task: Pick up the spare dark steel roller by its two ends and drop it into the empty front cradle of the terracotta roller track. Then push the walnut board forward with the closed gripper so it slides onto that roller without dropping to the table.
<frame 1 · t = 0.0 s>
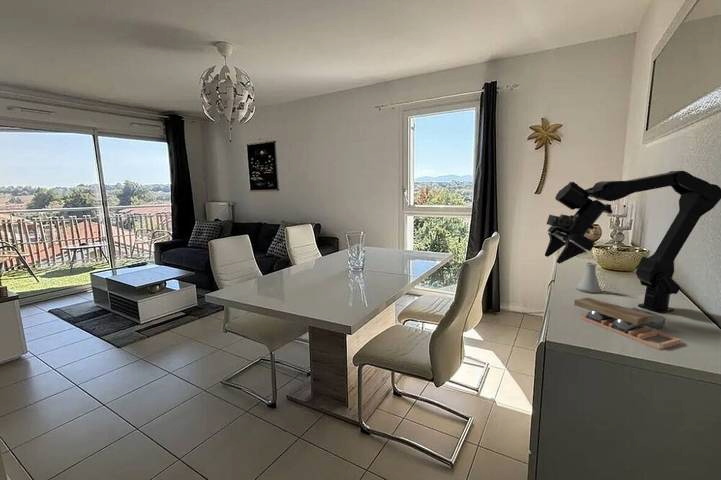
hand: (551, 259, 107), 15 cm above the table, tool tilted 35°, fingers open, 9 cm apart
middle roller: (627, 330, 90), on the table, touching walnut board
walnut board: (610, 312, 94), point 3 cm above the table, touching middle roller, rear roller
flask: (588, 290, 123), on the table
roller track: (601, 320, 97), on the table
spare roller: (645, 323, 94), on the table
rear roller: (601, 321, 97), on the table, tilted 7°, touching walnut board
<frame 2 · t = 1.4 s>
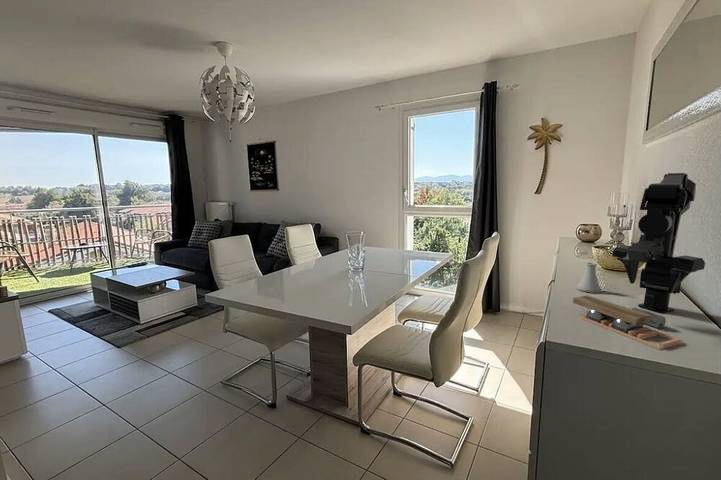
hand: (650, 288, 93), 10 cm above the table, tool pointing down, fingers open, 9 cm apart
middle roller: (627, 330, 90), on the table, tilted 9°, touching walnut board
rear roller: (602, 320, 97), on the table, tilted 15°, touching walnut board
everything else where it was.
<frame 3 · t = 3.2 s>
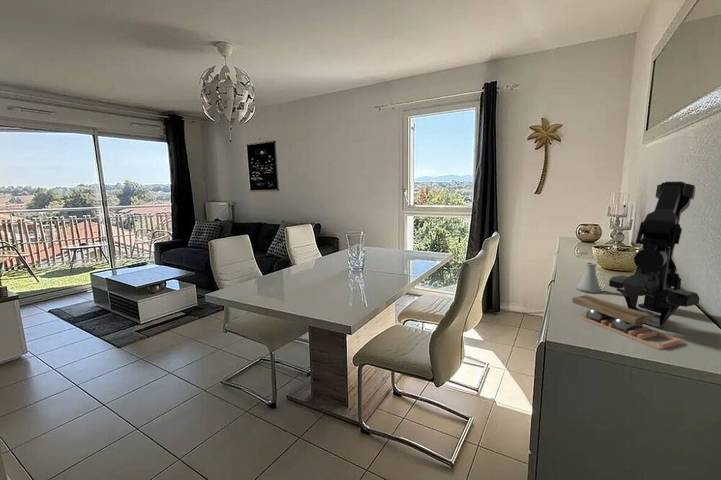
hand: (646, 319, 94), 1 cm above the table, tool pointing down, fingers closed on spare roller, 7 cm apart
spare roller: (645, 323, 94), on the table, tilted 11°, touching gripper
rear roller: (602, 320, 97), on the table, tilted 21°, touching walnut board
everything else where it was.
when the fingers open (2 cm above the table, at t = 7.5 s): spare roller drops 1 cm, on the table.
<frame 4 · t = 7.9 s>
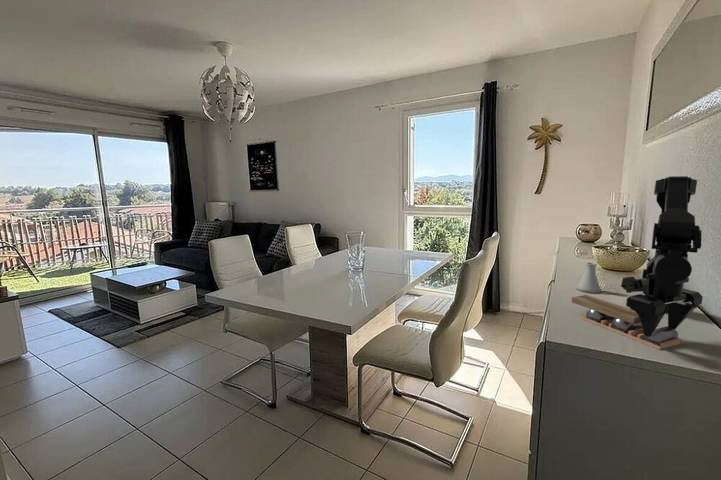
hand: (659, 333, 83), 2 cm above the table, tool pointing down, fingers open, 9 cm apart
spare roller: (657, 341, 84), on the table, tilted 13°
rear roller: (603, 320, 96), on the table, tilted 30°, touching walnut board
everything else where it was.
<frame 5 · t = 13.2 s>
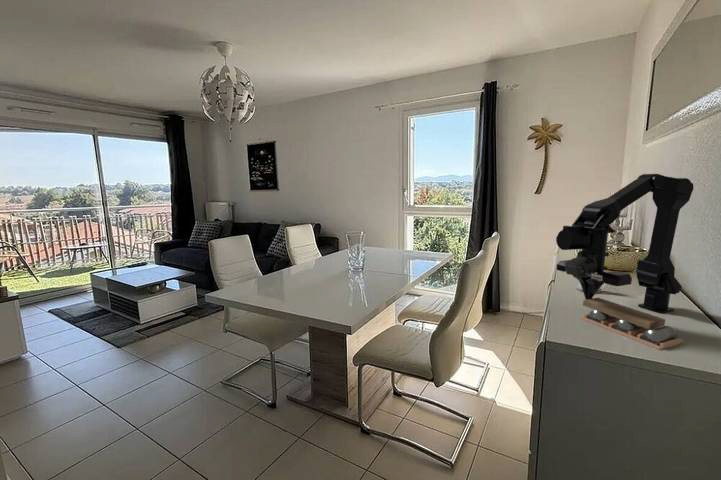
hand: (588, 300, 100), 4 cm above the table, tool pointing down, fingers closed
middle roller: (627, 329, 91), on the table, tilted 23°, touching roller track, walnut board
walnut board: (620, 314, 92), point 3 cm above the table, touching middle roller, rear roller
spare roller: (657, 341, 84), on the table, tilted 7°
rear roller: (602, 320, 96), on the table, touching roller track, walnut board
everything else where it was.
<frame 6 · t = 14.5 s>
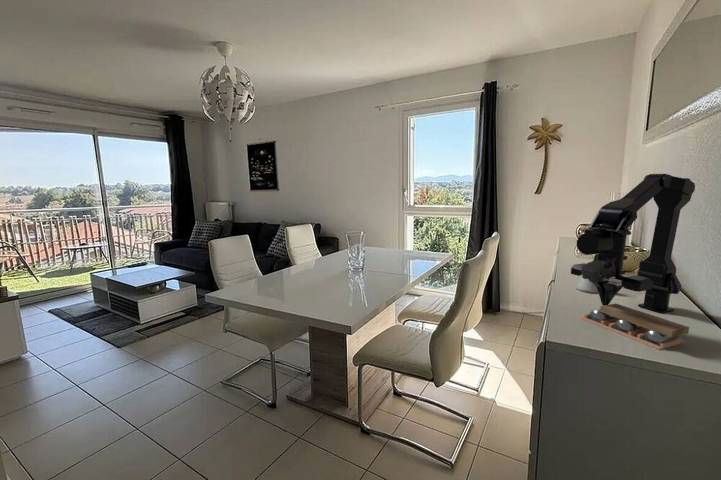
hand: (604, 305, 96), 5 cm above the table, tool pointing down, fingers closed
middle roller: (624, 327, 91), on the table, tilted 43°, touching walnut board
walnut board: (640, 321, 87), point 3 cm above the table, touching middle roller
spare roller: (654, 338, 84), on the table, tilted 48°
rear roller: (599, 318, 98), on the table, tilted 41°
everything else where it was.
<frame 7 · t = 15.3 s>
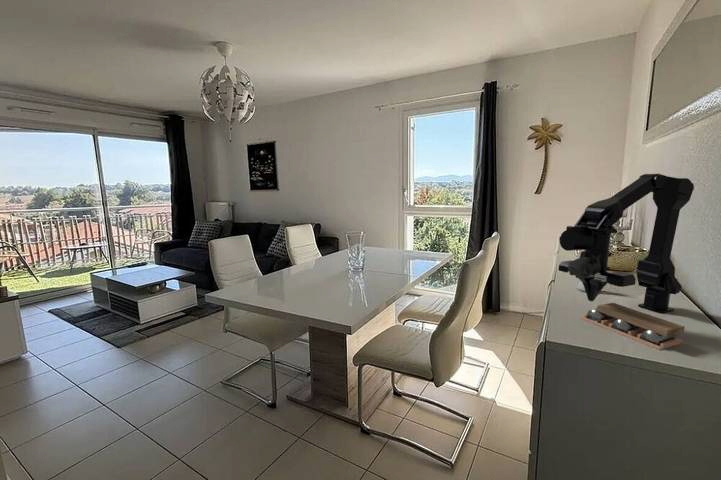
hand: (590, 300, 99), 5 cm above the table, tool pointing down, fingers closed
middle roller: (624, 328, 91), on the table, tilted 28°, touching walnut board
walnut board: (636, 320, 88), point 3 cm above the table, touching middle roller, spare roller
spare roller: (653, 339, 85), on the table, tilted 35°, touching walnut board
rear roller: (599, 319, 98), on the table, tilted 19°
everything else where it was.
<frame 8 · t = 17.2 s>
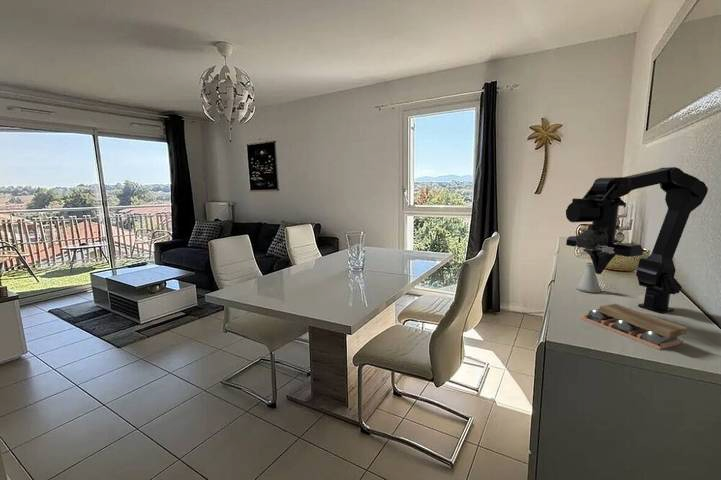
hand: (598, 273, 101), 12 cm above the table, tool pointing down, fingers closed
middle roller: (624, 328, 91), on the table, tilted 39°, touching walnut board
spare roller: (653, 338, 84), on the table, tilted 48°, touching walnut board
rear roller: (599, 318, 98), on the table, tilted 25°
everything else where it was.
at the end: walnut board moved 7.0 cm from its start; walnut board touching middle roller, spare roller; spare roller touching table, walnut board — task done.
